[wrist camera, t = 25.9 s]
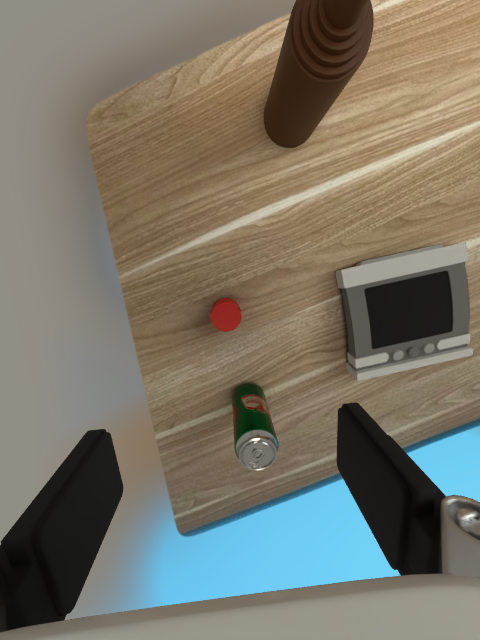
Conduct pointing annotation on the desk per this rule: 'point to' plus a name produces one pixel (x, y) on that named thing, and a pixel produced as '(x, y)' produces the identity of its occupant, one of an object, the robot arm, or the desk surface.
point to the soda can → (253, 428)
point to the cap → (225, 314)
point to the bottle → (315, 65)
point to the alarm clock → (406, 310)
